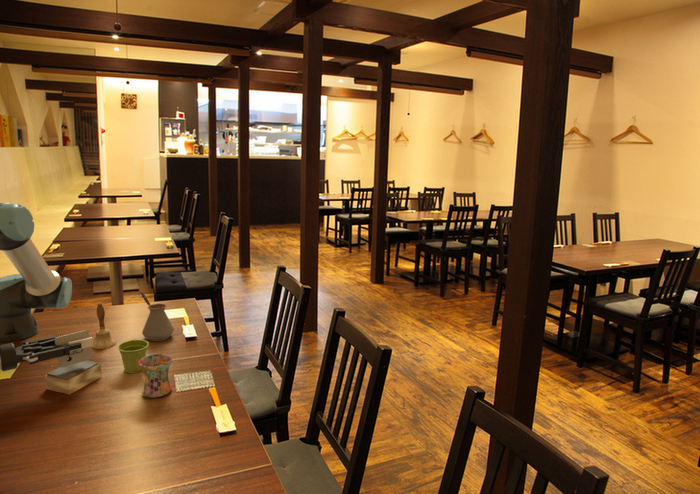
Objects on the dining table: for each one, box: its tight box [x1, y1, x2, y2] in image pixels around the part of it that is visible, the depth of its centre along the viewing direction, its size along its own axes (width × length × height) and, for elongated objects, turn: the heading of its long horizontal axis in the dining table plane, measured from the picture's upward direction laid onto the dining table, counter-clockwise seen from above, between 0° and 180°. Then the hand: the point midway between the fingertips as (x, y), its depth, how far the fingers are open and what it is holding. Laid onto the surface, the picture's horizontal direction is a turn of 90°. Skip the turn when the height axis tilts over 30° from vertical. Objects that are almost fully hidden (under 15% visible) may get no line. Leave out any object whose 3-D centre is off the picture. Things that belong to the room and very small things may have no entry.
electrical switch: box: [54, 329, 93, 368], centre depth 144 cm, size 9×5×9 cm, turn 140°
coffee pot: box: [138, 291, 175, 342], centre depth 185 cm, size 21×12×15 cm, turn 45°
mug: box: [139, 353, 173, 398], centre depth 142 cm, size 12×9×11 cm
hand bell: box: [91, 303, 117, 350], centre depth 173 cm, size 8×8×16 cm
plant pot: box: [117, 339, 150, 374], centre depth 156 cm, size 9×9×9 cm
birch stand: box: [44, 360, 103, 395], centre depth 146 cm, size 12×9×5 cm
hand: (90, 339), depth 147 cm, fingers closed on electrical switch, 4 cm apart
